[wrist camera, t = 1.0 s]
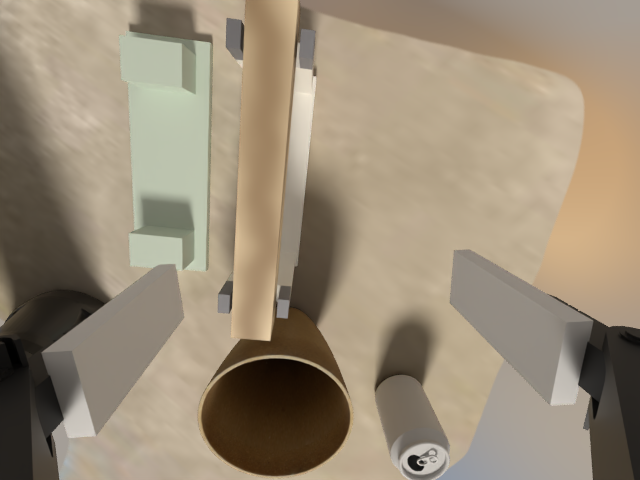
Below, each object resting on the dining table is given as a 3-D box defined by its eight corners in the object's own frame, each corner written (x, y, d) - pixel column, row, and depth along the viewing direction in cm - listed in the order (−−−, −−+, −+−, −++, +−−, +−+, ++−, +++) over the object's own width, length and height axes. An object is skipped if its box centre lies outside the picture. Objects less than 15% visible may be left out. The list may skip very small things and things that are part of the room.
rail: (239, 317, 31) (230, 337, 28) (255, 5, 24) (246, -19, 21) (274, 320, 31) (270, 340, 28) (300, 12, 24) (299, -11, 21)
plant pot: (213, 328, 45) (163, 420, 29) (289, 262, 42) (278, 324, 27) (285, 391, 48) (273, 503, 33) (359, 333, 46) (384, 424, 30)
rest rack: (139, 262, 42) (117, 276, 37) (130, 34, 35) (101, 14, 30) (208, 268, 42) (195, 283, 37) (212, 45, 35) (197, 28, 30)
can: (365, 385, 48) (382, 458, 37) (408, 362, 47) (440, 430, 36) (387, 418, 50) (411, 497, 38) (429, 397, 49) (466, 471, 38)
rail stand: (246, 258, 42) (212, 313, 28) (256, 71, 36) (221, 15, 22) (297, 263, 42) (291, 319, 28) (316, 79, 36) (321, 29, 22)
